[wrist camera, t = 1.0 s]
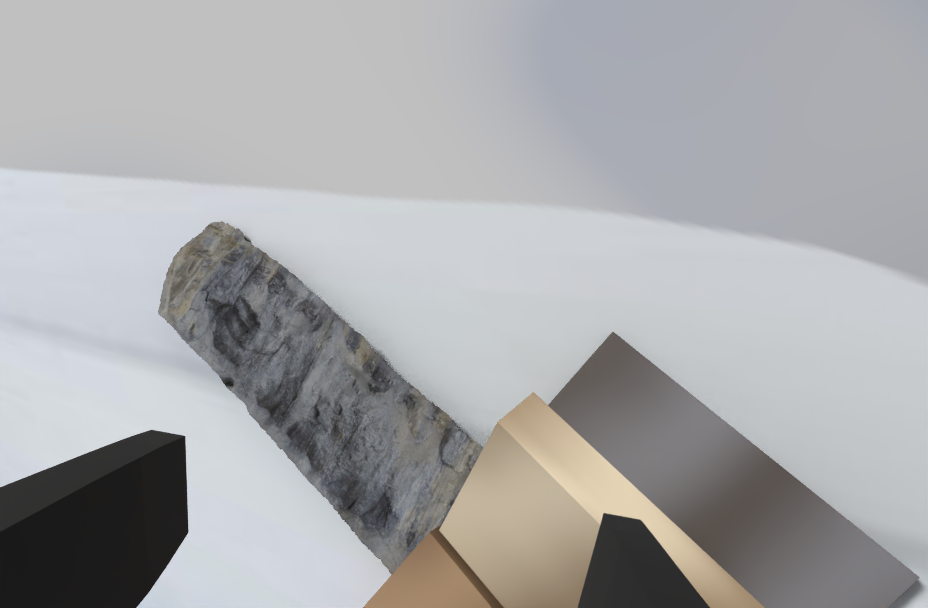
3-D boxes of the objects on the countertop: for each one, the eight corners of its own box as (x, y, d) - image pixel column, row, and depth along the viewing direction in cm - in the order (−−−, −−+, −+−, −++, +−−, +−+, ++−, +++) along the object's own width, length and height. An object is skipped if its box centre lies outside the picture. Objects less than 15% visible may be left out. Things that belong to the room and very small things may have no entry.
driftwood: (159, 301, 27) (122, 293, 25) (228, 202, 27) (196, 187, 25) (417, 595, 20) (393, 617, 18) (518, 463, 19) (505, 471, 17)
